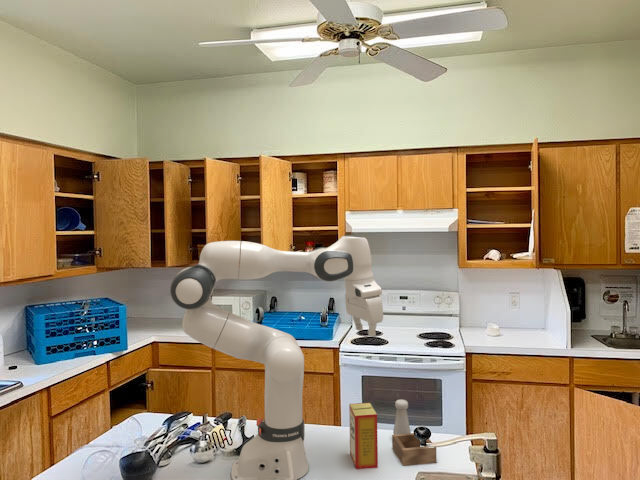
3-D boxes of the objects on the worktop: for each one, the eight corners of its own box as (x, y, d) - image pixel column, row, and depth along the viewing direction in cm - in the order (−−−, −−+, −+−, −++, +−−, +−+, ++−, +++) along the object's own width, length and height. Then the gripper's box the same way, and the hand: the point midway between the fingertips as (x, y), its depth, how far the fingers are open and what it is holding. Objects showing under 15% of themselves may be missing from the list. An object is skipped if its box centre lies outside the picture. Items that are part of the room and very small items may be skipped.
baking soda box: (377, 467, 131) (377, 413, 131) (355, 469, 130) (355, 414, 130) (370, 451, 140) (369, 401, 140) (350, 453, 139) (349, 402, 139)
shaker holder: (403, 465, 131) (402, 450, 131) (392, 449, 142) (392, 434, 142) (436, 462, 133) (436, 447, 133) (423, 446, 143) (423, 432, 143)
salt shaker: (410, 444, 145) (410, 404, 145) (393, 442, 146) (392, 403, 146) (410, 436, 150) (410, 398, 150) (393, 435, 152) (393, 397, 151)
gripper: (338, 286, 143) (343, 328, 143) (364, 293, 123) (370, 342, 124) (356, 283, 145) (361, 324, 145) (384, 289, 125) (390, 337, 126)
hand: (365, 332), depth 134 cm, fingers open, 8 cm apart
